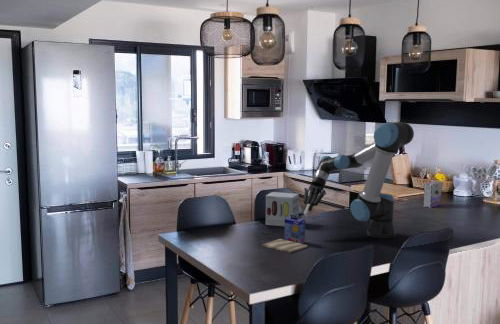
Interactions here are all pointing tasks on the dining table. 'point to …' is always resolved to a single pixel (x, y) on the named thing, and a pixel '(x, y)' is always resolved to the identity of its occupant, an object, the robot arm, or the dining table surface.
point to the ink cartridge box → (295, 229)
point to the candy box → (432, 194)
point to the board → (285, 245)
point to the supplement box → (281, 207)
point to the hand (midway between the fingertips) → (305, 215)
